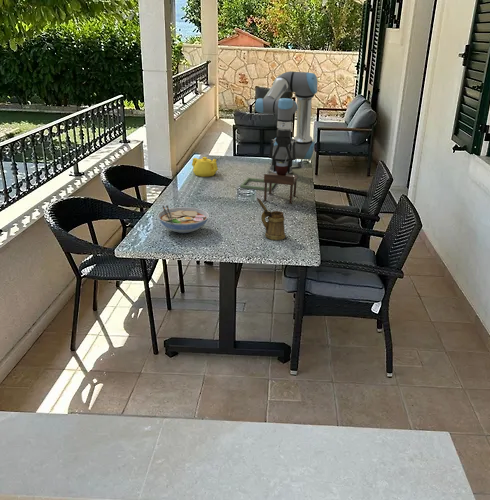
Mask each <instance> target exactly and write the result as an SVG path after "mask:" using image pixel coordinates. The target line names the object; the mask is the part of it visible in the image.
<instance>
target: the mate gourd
mask: <svg viewBox="0 0 490 500" xmlns="http://www.w3.org/2000/svg"><path fill="white" fill-rule="evenodd" d="M292 151H293V150H292ZM292 151H290V152H292ZM287 158H288V154H287ZM287 158H286V160H287ZM286 160H285V162H284V161H279V162H277V163H276V166H275V169H276V173H277V175H282V176H286V173H287V172H288V164H287V162H286Z"/></svg>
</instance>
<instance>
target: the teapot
mask: <svg viewBox="0 0 490 500" xmlns="http://www.w3.org/2000/svg"><path fill="white" fill-rule="evenodd" d="M217 161H218V160H217V158H213V159H211V158H208V156H202V157H201V158H197V157H193V158H192V162H191V166H192V167H193V169H192V173H194V175H195V176H197V177H202V178H209V177H214V175H216V173H217V171H218V170H219V168H218V164H217Z"/></svg>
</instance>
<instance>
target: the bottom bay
mask: <svg viewBox="0 0 490 500" xmlns="http://www.w3.org/2000/svg"><path fill="white" fill-rule="evenodd" d="M249 181H250V182H259V183H265V182H264V178H256V177H247V178H246V179H244V181H243V182H242V183H241V184H240V188H241V189H250V190H259V191H264V188H265V186H255V185H248V184H247V183H248V182H249ZM246 184H247V185H246ZM275 185H276V184H275V183H272V189H273V188H274V187H275ZM267 192H269V187H267Z"/></svg>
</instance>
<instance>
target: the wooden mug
mask: <svg viewBox="0 0 490 500" xmlns="http://www.w3.org/2000/svg"><path fill="white" fill-rule="evenodd" d="M256 200H257V203H258V204H259V206H260V207H261V209H262V210H263V212H262V213H261V215H260V220H261V222H262V224H263V226H264V228H265V233H264V236H265V238H266V239H268V240H271V241H281V240H284V239H285V238H286V232H285V231H286V230H285V216H284V212H283V211H279V210H274V211H273V210H272V211H271V210H268V209H267V206H266V205H265V204H264V202H263V201H262V199H260V198H258V197H257V198H256ZM266 218H267V221H266Z"/></svg>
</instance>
